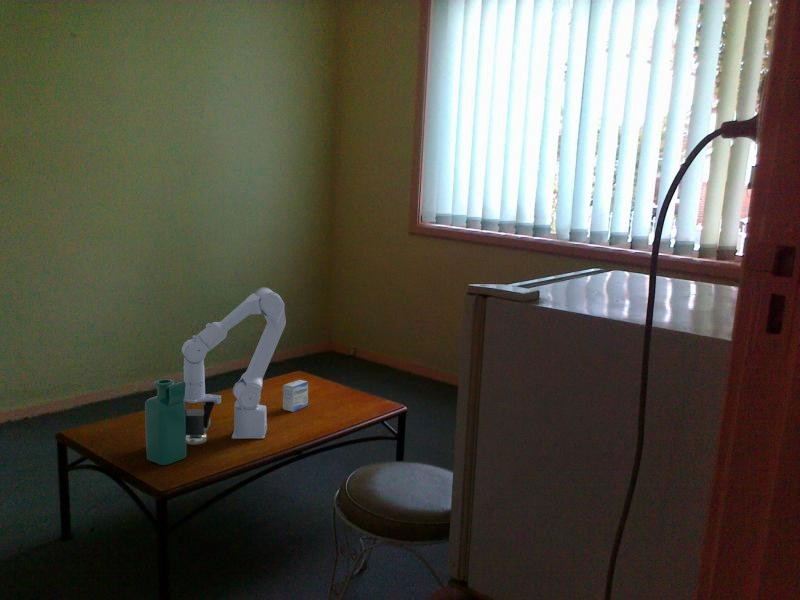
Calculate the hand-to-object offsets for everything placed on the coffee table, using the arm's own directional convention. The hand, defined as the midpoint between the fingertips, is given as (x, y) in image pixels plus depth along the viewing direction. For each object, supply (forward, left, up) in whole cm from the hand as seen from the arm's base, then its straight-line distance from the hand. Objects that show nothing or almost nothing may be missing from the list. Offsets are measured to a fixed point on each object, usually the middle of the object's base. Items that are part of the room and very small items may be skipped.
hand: (195, 426), depth 205 cm
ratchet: (0, -6, -4) cm, 7 cm away
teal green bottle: (+5, +13, -4) cm, 15 cm away
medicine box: (-27, -29, -4) cm, 40 cm away
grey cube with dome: (0, 0, -1) cm, 1 cm away
